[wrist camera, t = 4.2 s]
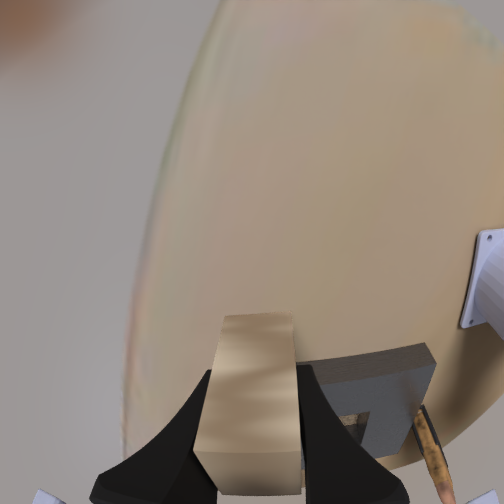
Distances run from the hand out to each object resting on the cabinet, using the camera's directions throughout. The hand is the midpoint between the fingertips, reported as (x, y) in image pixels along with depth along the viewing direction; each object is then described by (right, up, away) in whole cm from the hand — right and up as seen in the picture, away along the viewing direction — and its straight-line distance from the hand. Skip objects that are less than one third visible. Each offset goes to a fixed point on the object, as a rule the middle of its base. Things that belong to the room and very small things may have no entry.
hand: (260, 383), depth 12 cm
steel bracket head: (+4, -9, +11) cm, 15 cm away
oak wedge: (0, +1, +2) cm, 2 cm away
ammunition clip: (+19, -14, +13) cm, 27 cm away
